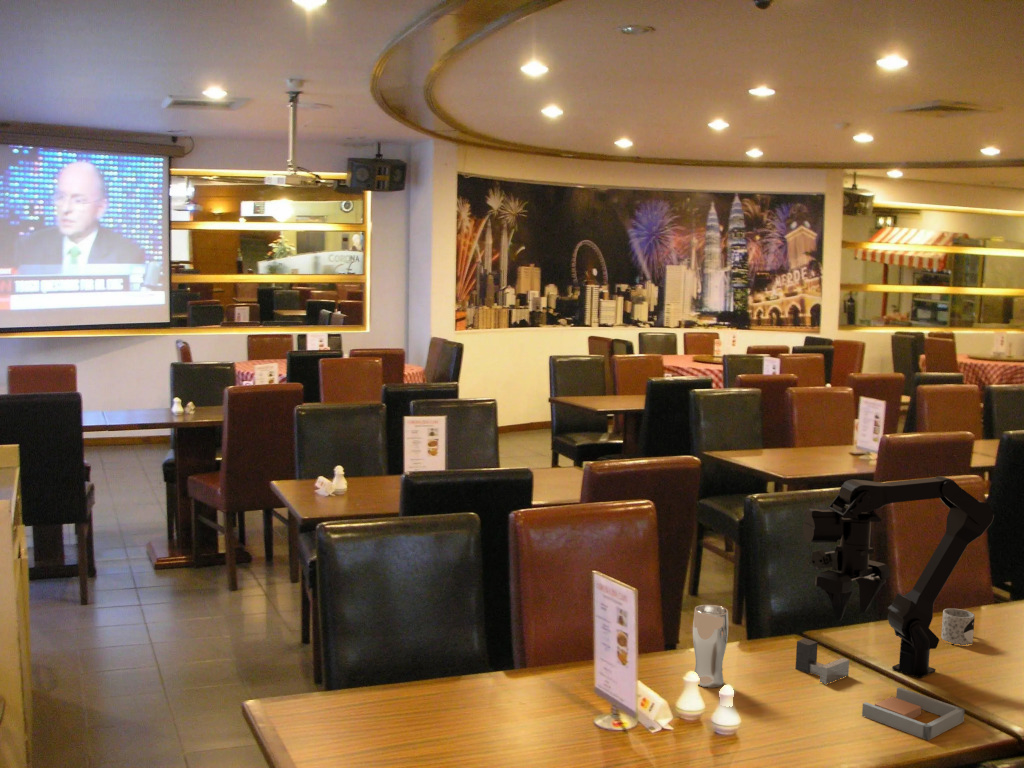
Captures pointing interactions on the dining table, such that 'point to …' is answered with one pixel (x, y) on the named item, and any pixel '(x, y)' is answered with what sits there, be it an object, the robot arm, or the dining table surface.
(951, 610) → the mug
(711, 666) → the beer glass
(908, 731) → the corral
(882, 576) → the robot arm
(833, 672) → the grey angular piece
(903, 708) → the terracotta tile
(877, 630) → the dining table surface
